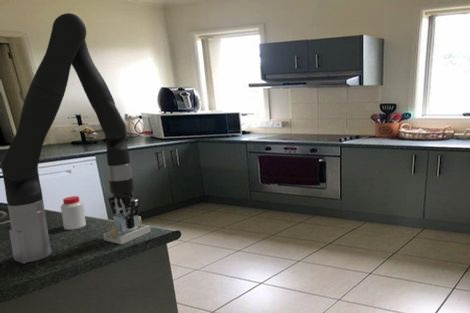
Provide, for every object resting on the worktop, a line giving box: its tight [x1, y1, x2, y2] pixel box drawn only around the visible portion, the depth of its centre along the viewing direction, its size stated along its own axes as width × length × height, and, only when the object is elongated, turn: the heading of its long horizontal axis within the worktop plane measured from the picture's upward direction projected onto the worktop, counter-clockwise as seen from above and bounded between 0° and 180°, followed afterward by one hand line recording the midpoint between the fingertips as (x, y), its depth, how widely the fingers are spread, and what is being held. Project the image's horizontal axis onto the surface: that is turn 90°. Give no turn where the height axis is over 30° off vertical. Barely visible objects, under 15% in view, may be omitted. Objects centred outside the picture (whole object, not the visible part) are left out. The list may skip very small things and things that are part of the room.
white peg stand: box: [103, 215, 152, 245], centre depth 124 cm, size 12×9×5 cm
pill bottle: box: [60, 195, 87, 231], centre depth 139 cm, size 8×8×11 cm
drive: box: [112, 211, 139, 232], centre depth 123 cm, size 7×4×5 cm, turn 145°
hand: (126, 227), depth 124 cm, fingers closed on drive, 4 cm apart
